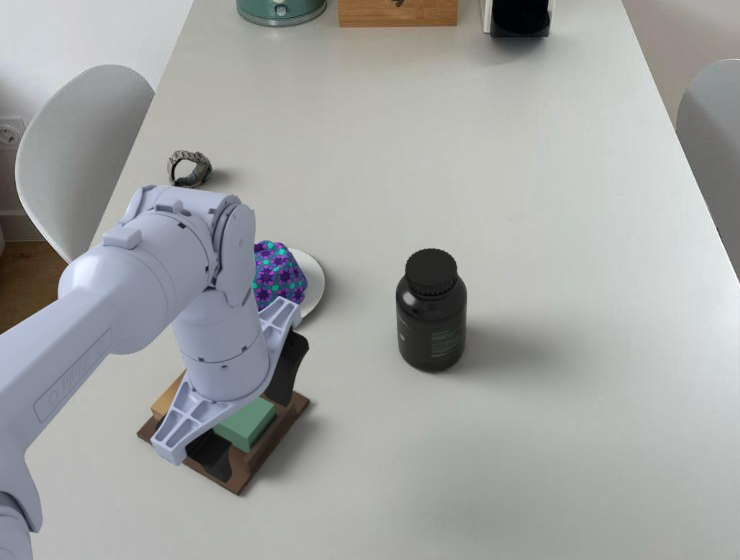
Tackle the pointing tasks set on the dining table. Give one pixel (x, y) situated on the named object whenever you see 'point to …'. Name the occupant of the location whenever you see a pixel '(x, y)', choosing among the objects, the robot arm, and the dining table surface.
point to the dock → (239, 460)
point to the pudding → (286, 276)
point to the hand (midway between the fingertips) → (249, 435)
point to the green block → (247, 424)
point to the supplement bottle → (431, 311)
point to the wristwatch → (197, 175)
